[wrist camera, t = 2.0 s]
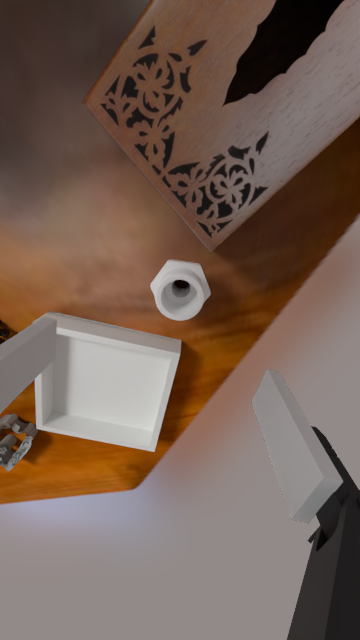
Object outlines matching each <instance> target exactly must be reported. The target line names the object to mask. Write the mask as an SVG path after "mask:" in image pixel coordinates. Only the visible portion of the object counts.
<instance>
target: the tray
mask: <svg viewBox="0 0 360 640" xmlns="http://www.w3.org/2000/svg"><path fill="white" fill-rule="evenodd" d="M43 317H48V318H52V319H56V320H57V332H56V358H55V359H54V360H53V361H52V362H51V363H50V364H49V365H48V366H47V367H46V368H45V369H44V370H43V371H42V372H41V373H40V374H39V375H38V376H37V377H36V378H35V403H36V429H39V430H44V431H49V432H54V433H59V434H64V435H70V436H75V437H80V438H85V439H90V440H95V441H101V442H106V443H111V444H116V445H121V446H126V447H132V448H137V449H142V450H147V451H152V452H155V448H156V444H157V440H158V437H159V433H160V429H161V425H162V422H163V418H164V414H165V410H166V406H167V403H168V399H169V395H170V391H171V388H172V384H173V380H174V376H175V373H176V369H177V365H178V361H179V357H180V353H181V340H179V339H174V338H170V337H165V336H161V335H156V334H152V333H147V332H143V331H138V330H134V329H129V328H124V327H120V326H115V325H111V324H106V323H102V322H97V321H93V320H88V319H83V318H79V317H74V316H70V315H65V314H61V313H56V312H52V311H49V312H47V313H46V314H44V315H43V316H41V317H40V318H38V319H37V320H35V321H33V323H35V322H36V321H38V320H40V319H41V318H43Z"/></svg>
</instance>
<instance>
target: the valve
mask: <svg viewBox="0 0 360 640" xmlns="http://www.w3.org/2000/svg"><path fill="white" fill-rule="evenodd" d="M1 324H2V321H1V320H0V325H1ZM9 334H10V331H9V330H8V329H0V336H3V338H7V337H8V335H9ZM4 342H5V340H4V339H2V338H0V345H1V344H2V343H4Z"/></svg>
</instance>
